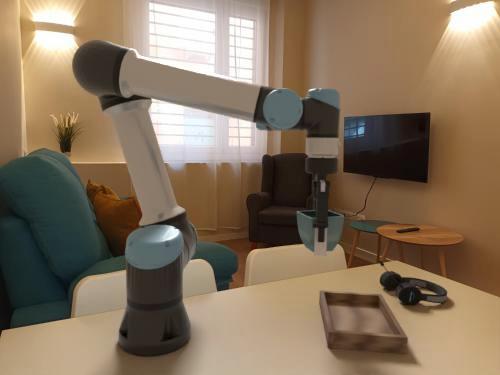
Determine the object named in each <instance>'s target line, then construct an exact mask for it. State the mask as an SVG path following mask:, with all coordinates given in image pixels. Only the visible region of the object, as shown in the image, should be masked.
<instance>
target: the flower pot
mask: <svg viewBox="0 0 500 375" xmlns="http://www.w3.org/2000/svg"><path fill="white" fill-rule="evenodd" d="M296 220H297V221H296V222H297V229H298V233H299V238H300V240H301V241H302V244H303V246H304V247H305V248H306V249H308V250H310V251H311V252H313V253H314V241H315V228H313V224H316V210H313V209H312V210H300V211H299V210H298V211H296ZM344 220H345V215H343V214H341V213H338V212H334V211H332V210H330V209H328V227H327V249H326V252H333V251H334V250H335V249H336V247H337V245H338V243H339V242H340V240H341V236H342V234H343V226H344ZM321 222H324V221H321Z"/></svg>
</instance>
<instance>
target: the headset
mask: <svg viewBox="0 0 500 375" xmlns="http://www.w3.org/2000/svg"><path fill="white" fill-rule="evenodd" d="M378 263H379V265H380V266H381V267H383V268H384V269H385V271H384V272H383V273H382V274H381V275H380V278H379V284H380V285H381V286H382V287H383V288H385V289H386V290H387V291H389V292H394V291H395V297H396V298H397V299H398V301H400V302H401V303H403V305H406V306H407V305H408V306H415V305H418V304H420V302H427V303H433V304H443V303H445V302H446V301H447V298H448V297H447V296H448V291H447V289H446V288H444V286H442V285H439V284H437V283H435V282H432V281H429V280H426V279H422V278H417V277H416V278H415V277H409V276H407V277H406V276H402V275H401V274H399V273H398V272H395V271H393V270H388V269H387V268H386V267H385V264H384V262H383V261H382V260H379V261H378ZM419 288H421V289H424V290H428V291H430V292H433V293H434V294H432V293H424V292H422V291H421V290H420V289H419Z"/></svg>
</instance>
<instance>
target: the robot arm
mask: <svg viewBox="0 0 500 375" xmlns="http://www.w3.org/2000/svg"><path fill="white" fill-rule="evenodd" d="M71 68H72V75H73V77H74V79H75V81H76V82H77V83H78V85H79V86H80V88H82V89H83V90H84V91H86V92H87V93H89V94H91V95H93V96H96V97H97V99H98V102H99V104H100V108H101V111H102V113H103V115H104V116H106V117H108V118H110V119H111V120H112V122H113V123H112V124H113V125H114V129H115V132H116V135H117V139H118V142H119V144H120V149H121V150H122V154H123V157H124V161H125V163H126V164H125V165H126V167H127V169H128V173H129V176H130V179H131V182H132V185H133V188H134V191H135V194H136V198H137V201H138V205H139V207H140V209H141V213H142V216H141V218H140V220H139V222H138V227H139V228H136V229H135V230H133V231H131V233H130V234H129V235H128V236H127V238H126V243H125V248H124V249H125V250H124V257H125V280H126V282H125V283H126V284H125V286H126V288H125V289H126V307H125V310H124V312H123V316H122V319H121V321H120V325H119V328H118V344H119V346H120V347H121V350H123V351H125V352H126V353H129V354H132V355H136V356H145V357H148V356H149V357H150V356H154V357H155V356H159V355H165V354H168V353H172V352H174V351H176V350H179V349H180V348H182V347H184V346H185V345H186V344H187V343H188V342H189V340H190V338H191V334H192V332H191V329H192V327H191V326H192V323H191V320H190V317H189V314H188V313H187V312H188V311H187V309H186V306H185V304H184V300H183V298H184V296H183V295H184V288H183V286H184V269H186V267H187V265H188V264H189V262H190V261H191V260H192V259H193V257H194V255H195V254H196V251H197V248H198V245H199V244H198V243H199V236H198V232H197V229H196V227H195V225H194V224H193V223H191V221H189V218H188V215H187V212H186V208H184V207H182V206H180V205H178V203H177V200H176V199H177V198H176V196H175V193H174V190H173V187H172V184H171V180H170V177H169V174H168V171H167V167H166V164H165V161H164V159H163V158H164V157H163V154H162V150H161V148H160V145H159V144H160V143H159V141H158V138H157V135H156V131H155V128H154V125H153V122H152V118H151V116H150V112H149V110H150V107H151V106H152V104H153V100H156V101H161V102H165V103H169V104H173V105H177V106H182V107H186V108H191V109H195V110H199V111H202V112H203V111H204V112H206V113H207V112H208V113H212V114H217V115H220V116H223V117H230V118H233V119H238V120H242V121H246V122H250V123H254V124H255V126H256V129H257V130H259V131H265V132H266V131H267V132H273V131H274V132H275V131H277V132H278V131H279V132H282V131H284V132H289V131H293V132H294V131H299V132H303V131H304V132H305V133H306V134H305V136H306V137H305V154H306V156H307V157H306V158H305V169H304V171H305V173H307V174H310V175H311V174H312V175H314V174H315V176H314V177H313V180H312V182H311V184H312V185H311V187H312V196H313V205H312V207H313V208H312V210H316V224H313V228H315V241H314V252H313V255H314V256H321V257H322V256H324V257H325V256H327V251H326V249H327V227H328V210H329V199H330V189H331V188H330V187H331V182H330V180H328V175H335V174H337V173H338V171H339V159H338V158H337V157H336V156H337V155H339V147H341V146H342V142H340V141H339V137H340V118H341V96H340V91H339V90H337V89H336V88H330V87H329V88H328V87H321V88H317V87H316V88H311V89H308V91H307V94H306V97H300V96H299V94H298V93H297V92H296V91H294V90H293V89H291V88H286V87H280V88H279V87H278V88H274V87H270V86H266V85H262V84H258V83H255V82H252V81H251V82H250V81H246V80H242V79H237V78H233V77H229V76H225V75H220V74H216V73H212V72H210V71H209V72H208V71H205V70H199V69H197V68H192V67H186V66H183V65H178V64H174V63H170V62H166V61H162V60H158V59H154V58H153V59H152V58H149V57H146V56H142V55H140V53H139V52H138V51H137V49H134V48H131V47H127V46H123V45H119V44H116V43H114V42H111V41H109V40H108V41H107V40H103V39H91V40H88V41H86V42H84V43H82V44H81V45H80V46H79V47H78V48H77V49H76V51H75V53H74V55H73V57H72V61H71ZM321 221H324V222H321Z"/></svg>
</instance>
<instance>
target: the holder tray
mask: <svg viewBox="0 0 500 375" xmlns="http://www.w3.org/2000/svg"><path fill="white" fill-rule="evenodd" d="M318 296H319V299H318V301H319V302H318V305H319V311H320V315H321V319H322V325H323V330H324V334H325V340H326V346H327V348H329V349H340V350H353V351H366V352H367V351H368V352H377V353H378V352H379V353H388V354H389V353H391V354H403V355H404V354H405V355H406V354H407V352H408V342H409V337H408V336H407V334H406V332H405V331H404V330H403V327H402V326H401V324H400V322H399V321H398V319H397V318H396V316H395V315H394V312H393V311H392V309H391V308H390V306H389V305H388V303H387V302H386V300H385V298H384V297H383V295H382V294H381V293H368V292H367V293H366V292H365V293H364V292H349V291H338V290H337V291H335V290H321V289H320V290H319V295H318Z"/></svg>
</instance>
